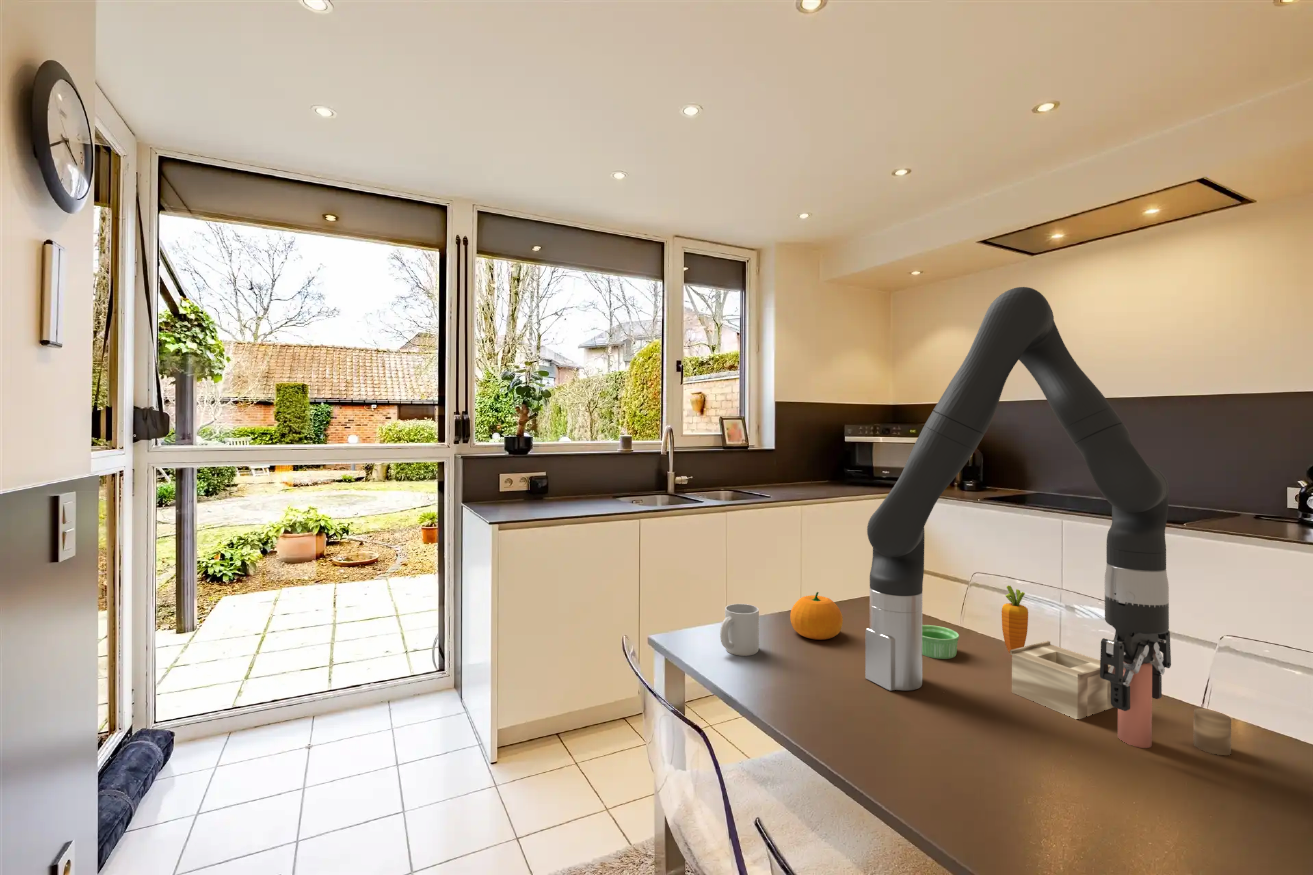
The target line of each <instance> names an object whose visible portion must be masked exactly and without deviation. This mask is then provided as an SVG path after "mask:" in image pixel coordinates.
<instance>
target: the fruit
mask: <svg viewBox="0 0 1313 875" xmlns="http://www.w3.org/2000/svg"><path fill="white" fill-rule="evenodd" d="M819 593H820V592H818V591H817V592H815V595H814V594H813V595H812V594H811V595H806V596H802V597H800V598H799V599H798V600H797V601H796V602H795V603H794V604H793V606H792V608H791V610H790V615H789V616H790V617H789V618H790V624H791V626H792V629H793V630H794V631H795V632H796V633H797V634H798V635H800V636H802V637H804V638H807V639H811V640H821V641H822V640H829V639H832V638H834V637H835V636H837V635H839V633H840V632H841V629H842V627H843V619H844V618H843V614H842V612H841V609H840V608H839V607H838V605H837V604H836V603H835V601H833V600H832V599H830V597H826V596H822V595H819Z"/></svg>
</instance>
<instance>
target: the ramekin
mask: <svg viewBox="0 0 1313 875" xmlns="http://www.w3.org/2000/svg"><path fill="white" fill-rule="evenodd" d="M959 639H960V634H959V633H958V632H957V631H955V630H954V629H951V628H948V627H944V626H938V625H930V624H922V656H925V657H927V658H931V659H938V660H939V659H941V660H947V659H948V660H949V659H953V658H955V657H956V655H957V652H958V641H959Z"/></svg>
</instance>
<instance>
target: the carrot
mask: <svg viewBox="0 0 1313 875" xmlns="http://www.w3.org/2000/svg"><path fill="white" fill-rule="evenodd" d="M1006 589H1007V591H1008V593H1007V594H1005V597H1006V599H1007V600H1008V601H1009V603H1004V604H1003V605H1002V607H1001V627H1002V628H1001V629H1002V634H1003V639H1004V645H1005V647H1006V650H1007V651H1008V652H1007V653H1008V654H1009V656H1010V657H1011V658H1012V655H1010V650H1013V649H1017V648H1021V647H1025V645H1026V640H1027V637H1028V627H1029V626H1028V625H1029V609H1028V608H1027V607H1026V606H1025V605H1024V604H1023V605H1022V604H1020V603H1021V602H1022V600H1023V598H1024V597H1025V595H1026V593H1025V592H1024V591H1021V590H1020V589H1018V588H1016V589H1015V591H1014V589H1013V587H1012V586H1011V585H1007V586H1006ZM1015 592H1016V593H1015Z"/></svg>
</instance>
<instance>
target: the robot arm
mask: <svg viewBox="0 0 1313 875" xmlns="http://www.w3.org/2000/svg"><path fill="white" fill-rule="evenodd" d="M1054 319H1055V318H1054V313H1053V310H1052V308H1051V305H1050V303H1049V302H1048V300H1047V298H1046V297H1045V296H1044V295H1043V294H1042V293H1041V292H1040V291H1038V290H1036V289H1034V288H1033V287H1028V286H1019V287H1014V288H1009V289H1008V290H1006V291H1004V292H1003V293H1001V294H999V295H998V296H997V297H996V298H994V300H993V302H992V303H990V305H989V307H988V309H987V311H986V312H985V314H984V317H983V320H982V321H981V324H980V326H979V329H978V331H977V333H976V335H975V337H974V340H973V342H972V343H971V346H970V348H969V351H968V353H967V355H966V356H965V358H964V360H963V361H962V364H961V365H960V367H958V370H957V371H956V373H955V374H954V376H953V377H952V379H951V380H950V382H949V383H948V385H947V387H946V388H945V391H944V392H943V394H942V395H941V397H940V399H939V400H938V402H937V403H936V404H935V406H934V408H933V410H932V412H931V414H930V415H929V416H928V418H927V420H926V421H925V423H924V426H923V427H922V429H921V431H920V432H919V435H918V437H917V439H916V441H915V442H914V445H913V447H912V449H911V452H910V453H909V454H908V455H909V456H908V457H907V460H906V463H905V465H904V467H903V470H902V472H901V474H900V476H899V477H898V478H897V481H896V483H895V484H894V485H893V487H892V488H891V490H890V491H889V492H888V494H887V495H886V497H885V498H884V500H883V501H882V502H881V504H880V505H879V506H878V508H877V509H875V511H874V513H873V514H872V515H871V516H870V518H869V520H868V523H867V527H866V535H867V538H868V542H869V543H870V545H871V547H872V559H871V560H872V561H871V567H870V573H869V627H867V628H866V629H865V666H864V667H865V669H864V670H865V672H864V673H865V679H866V680H868V681H870V682H871V683H875V684H876V685H878V686H880V687H881V688H884V689H886V690H887V691H895V690H896V691H914V690H917V689H920V688H921V687H922V685H923V655H922V625H923V592H924V591H923V586H924V585H923V584H924V576H925V575H924V572H925V526H926V525H927V524H926V523H927V522H928V520H929V517H930V515H931V513H932V511H933V509H934V507H935V505H936V503H937V502H938V500H939V499H940V497H941V496H942V494H943V493H944V491H945V490H946V489H947V488H948V486H949V485H950V484H951V483H952V482H953V481H954V480H955V478H956V477H957V476H958V475H959V473H960V472H961V471H962V469H963V468H964V467H965V465H967V463H968V461H969V459H971V458H972V455H973V454H974V453H975V451H976V450H977V448H978V447H979V444H980V442H981V441H982V439H983V437H984V436H985V434H986V433H987V431H988V429H989V427H990V425H991V423H992V421H993V418H994V416H995V413H996V410H997V407H998V406H999V402H1000V399H1001V395H1002V394H1003V393H1002V392H1003V389H1004V387H1005V385H1006V381H1007V380H1008V378H1009V376H1010V374H1011V372H1012V370H1013V368H1014V367H1015V365H1016V364H1017V363H1018V361H1019V362H1020V363H1021V364H1022V365H1023V366H1024V367H1025V368H1026V369H1027V371H1028V372H1029V373H1030V376H1032V377H1033V379H1034V380H1035V382H1036V384H1037V385H1038V386H1039V388H1040V390H1041V392H1042V393H1043V395H1044V397H1045V399H1046V401H1047V402H1048V405H1049V406H1050V409H1052V412H1053V414H1054V415H1055V417H1056V419H1057V421H1058V422H1059V424H1060V425H1061V427H1062V428H1063V430H1064V432H1065V433H1066V434H1067V436H1068V438H1069V439H1070V440H1071V442H1072V443H1073V445H1074V446H1075V447H1076V449H1077V450H1078V452H1079V453H1080V454H1081V456H1082V457H1083V460H1084V461H1085V464H1086V466H1087V469H1088V471H1089V473H1090V475H1091V477H1092V478H1093V480H1094V483H1095V484H1096V486H1097V489H1098V490H1099V492H1100V493H1101V494H1102V496H1103V497H1104V498H1105V500H1106V501H1107V502H1108V503H1109V504H1110V505H1111V525H1110V528H1109V530H1108V532H1107V535H1106V546H1105V547H1106V550H1105V551H1106V553H1105V554H1106V566H1105V573H1104V621H1105V622H1106V623H1107V625H1109V626H1112V628H1113V629H1114V631H1115V633H1114V637H1113V639H1107V638H1102V639H1101V641H1100V658H1099V660H1100V678H1102V679H1105V680H1108V681H1110V683H1111V705H1112V706H1113V708H1116V709H1117V710H1118V709H1121V710H1123V711H1127V710H1130V686H1129V685H1130V682H1131V679H1132V676H1133V674H1137V673H1138V672H1139V670H1140V667H1141V665H1143V664H1144V663H1145V664H1147V663H1151V664H1152V699H1155V700H1159V699H1161V698H1162V691H1163V690H1162V687H1163V685H1162V684H1163V683H1162V679H1163V678H1162V675H1164V674H1165V669H1170V668H1171V666H1172V657H1171V656H1172V654H1171V653H1172V652H1171V633H1170V620H1169V618H1170V612H1169V611H1170V604H1169V603H1170V593H1169V592H1170V588H1169V587H1170V586H1169V585H1170V584H1169V580H1168V579H1169V578H1168V572H1167V544H1166V528H1167V521H1168V514H1169V502H1170V488H1169V482H1168V480H1167V478H1166V476H1165V475H1164V474H1163V472H1161V470H1159V469H1158V468H1156V467H1154V466H1152V465H1150V464H1147V462H1146V460H1144V458H1143V456H1141V454H1140V453H1139V451H1138V449H1136V447H1135V445H1134V444H1133V442H1132V436H1131V433H1130V432H1129V429H1128V428H1127V426H1126V424H1125V423H1124V422H1123V421H1122V419H1121V417H1120V416H1119V414H1118V413H1117V412H1116V410H1115V409H1114V408H1113V406H1112V405H1111V404H1110V402H1109V401H1108V399H1107V398H1106V397H1105V396H1104V395H1103V393H1102V392H1101V391H1100V390H1099V388H1098V387H1097V385H1095V384H1094V382H1093V381H1092V380H1091V379H1090V378H1089V376H1087V375H1086V374H1085V372H1084V371H1083V370H1082V368H1081V367H1080V366H1079V365H1078V364H1077V362H1076V361H1075V359H1074V358H1073V356H1072V355H1071V353H1070V352H1069V350H1068V348H1067V346H1066V344H1065V343H1064V341H1063V338H1062V336H1061V334H1060V331H1059V329H1058V327H1057V325H1056V323H1055V320H1054ZM1124 662H1125V663H1124ZM1126 663H1129V664H1126ZM1108 665H1111V667H1110V669H1109V672H1108ZM1123 670H1125V674H1124V676H1123Z"/></svg>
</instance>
